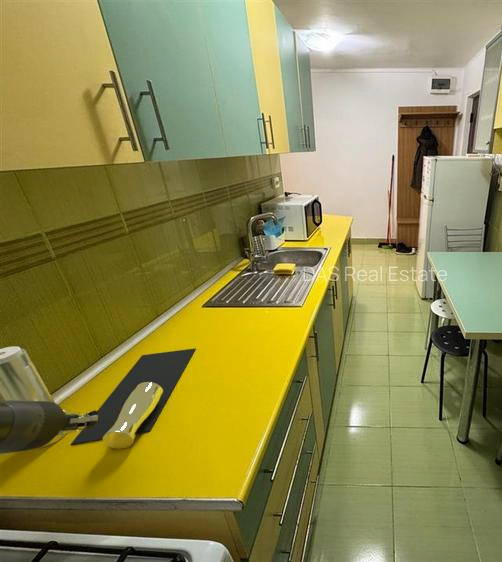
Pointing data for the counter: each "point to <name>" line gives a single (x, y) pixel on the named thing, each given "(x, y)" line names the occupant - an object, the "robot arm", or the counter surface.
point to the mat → (147, 369)
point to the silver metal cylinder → (22, 380)
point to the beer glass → (133, 415)
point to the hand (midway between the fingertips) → (92, 422)
